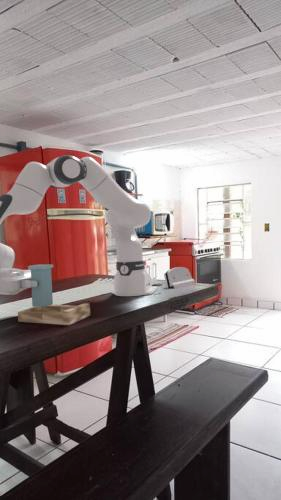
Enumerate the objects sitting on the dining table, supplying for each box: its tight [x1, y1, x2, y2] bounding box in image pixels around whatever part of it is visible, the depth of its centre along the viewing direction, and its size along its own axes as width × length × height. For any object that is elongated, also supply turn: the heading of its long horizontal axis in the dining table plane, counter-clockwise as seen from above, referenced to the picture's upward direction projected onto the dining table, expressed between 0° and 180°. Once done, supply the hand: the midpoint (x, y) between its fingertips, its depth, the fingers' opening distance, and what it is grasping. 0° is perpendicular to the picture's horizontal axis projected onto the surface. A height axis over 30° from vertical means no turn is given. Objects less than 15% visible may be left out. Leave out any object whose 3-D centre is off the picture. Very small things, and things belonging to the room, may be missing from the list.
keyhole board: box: [17, 302, 91, 326], centre depth 111 cm, size 12×19×4 cm, turn 67°
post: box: [27, 264, 54, 307], centre depth 112 cm, size 6×6×13 cm
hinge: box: [163, 266, 196, 289], centre depth 167 cm, size 17×5×10 cm, turn 135°
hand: (43, 282), depth 111 cm, fingers closed on post, 4 cm apart
